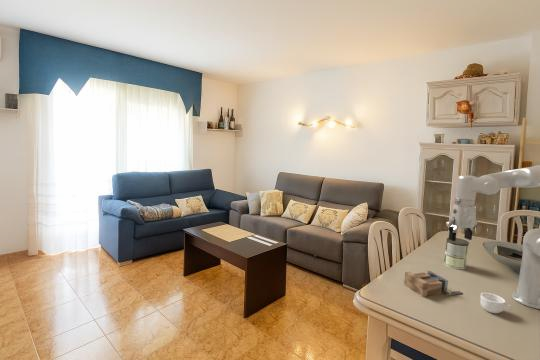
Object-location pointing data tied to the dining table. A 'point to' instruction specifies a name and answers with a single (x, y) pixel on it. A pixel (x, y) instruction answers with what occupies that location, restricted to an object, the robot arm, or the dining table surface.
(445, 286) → the grey angular frame piece
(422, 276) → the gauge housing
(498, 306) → the teacup
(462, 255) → the coffee can
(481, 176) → the robot arm
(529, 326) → the dining table surface
